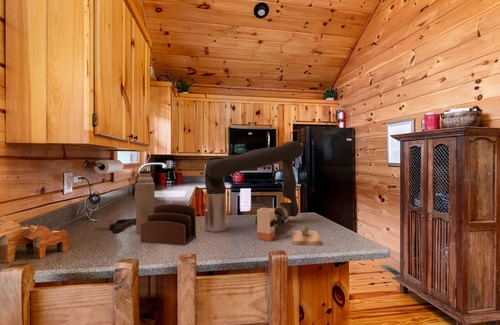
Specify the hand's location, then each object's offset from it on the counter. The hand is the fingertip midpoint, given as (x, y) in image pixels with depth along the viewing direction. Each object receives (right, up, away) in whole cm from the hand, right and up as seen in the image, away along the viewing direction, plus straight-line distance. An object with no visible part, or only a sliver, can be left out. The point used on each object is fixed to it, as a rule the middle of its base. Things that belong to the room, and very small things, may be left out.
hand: (263, 223), depth 99 cm
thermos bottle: (-54, -7, +13) cm, 56 cm away
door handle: (-72, -8, +21) cm, 75 cm away
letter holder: (-39, -7, +1) cm, 40 cm away
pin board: (+17, -6, 0) cm, 18 cm away
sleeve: (+1, -7, +2) cm, 7 cm away
